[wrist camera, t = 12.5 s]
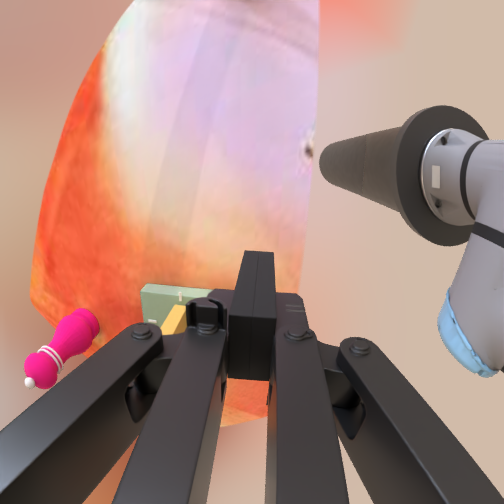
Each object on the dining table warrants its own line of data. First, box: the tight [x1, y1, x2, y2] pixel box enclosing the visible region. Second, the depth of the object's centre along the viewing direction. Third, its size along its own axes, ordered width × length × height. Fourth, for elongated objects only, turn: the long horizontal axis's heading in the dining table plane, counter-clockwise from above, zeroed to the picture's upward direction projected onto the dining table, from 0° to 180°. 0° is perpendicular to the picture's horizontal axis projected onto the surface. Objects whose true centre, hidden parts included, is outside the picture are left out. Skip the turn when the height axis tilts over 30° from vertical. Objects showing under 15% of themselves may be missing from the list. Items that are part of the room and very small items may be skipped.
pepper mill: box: [24, 308, 99, 389], centre depth 37 cm, size 7×7×20 cm
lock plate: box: [140, 283, 212, 328], centre depth 43 cm, size 13×11×3 cm
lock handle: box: [160, 305, 187, 335], centre depth 38 cm, size 7×2×8 cm, turn 176°
